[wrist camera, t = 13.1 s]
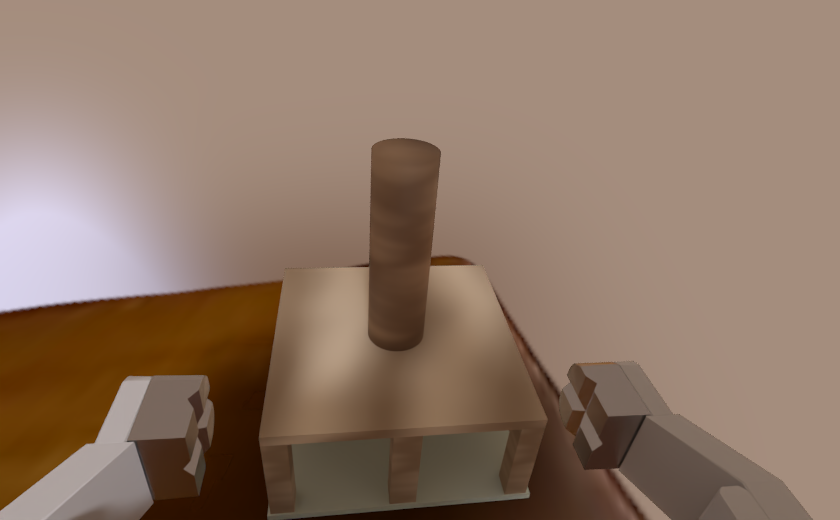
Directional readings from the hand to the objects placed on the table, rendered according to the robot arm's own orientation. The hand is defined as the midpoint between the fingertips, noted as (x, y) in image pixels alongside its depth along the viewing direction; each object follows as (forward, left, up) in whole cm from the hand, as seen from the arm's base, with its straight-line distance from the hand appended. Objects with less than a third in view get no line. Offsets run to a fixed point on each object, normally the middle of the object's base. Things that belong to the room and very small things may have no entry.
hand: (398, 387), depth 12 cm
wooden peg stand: (+2, +14, -17) cm, 22 cm away
